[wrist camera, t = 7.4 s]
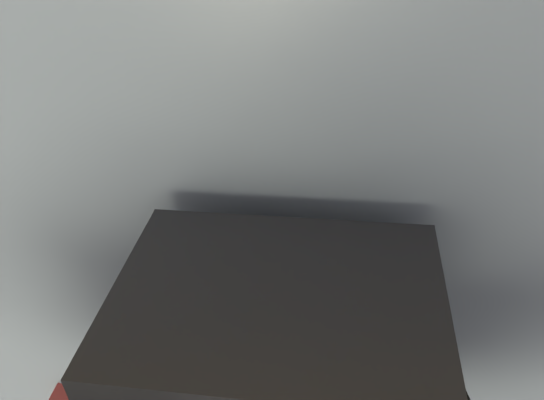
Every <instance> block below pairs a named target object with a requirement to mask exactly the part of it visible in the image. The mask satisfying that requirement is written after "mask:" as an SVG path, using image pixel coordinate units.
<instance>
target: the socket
mask: <svg viewBox="0 0 544 400" xmlns="http://www.w3.org/2000/svg"><path fill="white" fill-rule="evenodd" d="M155 209H161V210H178V211H196V212H213V213H231V214H248V215H266V216H283V217H301V218H318V219H336V220H353V221H370V222H388V223H405V224H423V225H435V231H436V236H437V241H438V246H439V252H440V257H441V262H442V267H443V273H444V278H445V283H446V288H447V294H448V299H449V304H450V309H451V315H452V320H453V325H454V331H455V336H456V341H457V346H458V352H459V357H460V362H461V367H462V373H463V378H464V383H465V388H466V391H467V393H468V395H469V397H470V400H544V0H0V400H69V399H68V397H67V394H66V392H65V390H64V387H63V385H62V383H61V378H62V377H63V375H64V373H65V371H66V369H67V368H68V366H69V364H70V362H71V360H72V358H73V357H74V355H75V353H76V351H77V349H78V348H79V346H80V344H81V342H82V340H83V339H84V337H85V335H86V333H87V331H88V329H89V328H90V326H91V324H92V322H93V320H94V319H95V317H96V315H97V313H98V311H99V310H100V308H101V306H102V304H103V302H104V300H105V299H106V297H107V295H108V293H109V291H110V290H111V288H112V286H113V284H114V282H115V281H116V279H117V277H118V275H119V273H120V271H121V270H122V268H123V266H124V264H125V262H126V261H127V259H128V257H129V255H130V253H131V252H132V250H133V248H134V246H135V244H136V242H137V241H138V239H139V237H140V235H141V233H142V232H143V230H144V228H145V226H146V224H147V223H148V221H149V219H150V217H151V215H152V213H153V212H154V210H155Z"/></svg>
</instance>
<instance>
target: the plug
mask: <svg viewBox="0 0 544 400" xmlns="http://www.w3.org/2000/svg"><path fill="white" fill-rule="evenodd" d="M61 383H62V385H63V387H64V390H65V392H66V394H67V397H68V399H69V400H468V399H467V394H466V388H465V383H464V378H463V373H462V367H461V362H460V357H459V352H458V346H457V341H456V336H455V331H454V325H453V320H452V315H451V309H450V304H449V299H448V294H447V288H446V283H445V278H444V273H443V267H442V262H441V257H440V252H439V246H438V241H437V236H436V231H435V225H423V224H405V223H388V222H370V221H353V220H336V219H318V218H301V217H283V216H266V215H248V214H231V213H213V212H196V211H178V210H161V209H155V210H154V212H153V213H152V215H151V217H150V219H149V221H148V223H147V224H146V226H145V228H144V230H143V232H142V233H141V235H140V237H139V239H138V241H137V242H136V244H135V246H134V248H133V250H132V252H131V253H130V255H129V257H128V259H127V261H126V262H125V264H124V266H123V268H122V270H121V271H120V273H119V275H118V277H117V279H116V281H115V282H114V284H113V286H112V288H111V290H110V291H109V293H108V295H107V297H106V299H105V300H104V302H103V304H102V306H101V308H100V310H99V311H98V313H97V315H96V317H95V319H94V320H93V322H92V324H91V326H90V328H89V329H88V331H87V333H86V335H85V337H84V339H83V340H82V342H81V344H80V346H79V348H78V349H77V351H76V353H75V355H74V357H73V358H72V360H71V362H70V364H69V366H68V368H67V369H66V371H65V373H64V375H63V377H62V378H61Z"/></svg>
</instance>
